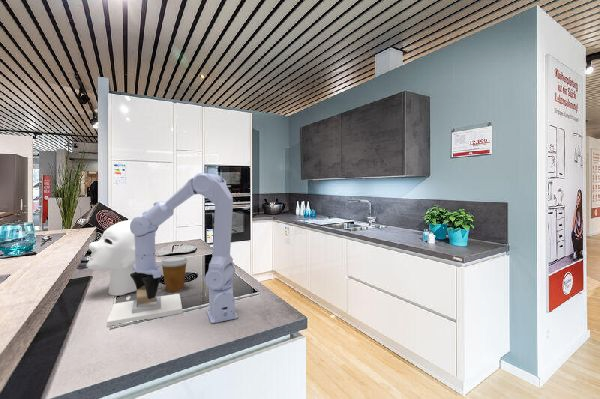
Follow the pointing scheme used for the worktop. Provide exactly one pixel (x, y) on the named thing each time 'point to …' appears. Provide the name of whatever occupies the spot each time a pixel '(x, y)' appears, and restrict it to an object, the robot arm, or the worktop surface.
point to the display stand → (145, 309)
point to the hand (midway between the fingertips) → (146, 295)
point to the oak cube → (143, 296)
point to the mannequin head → (115, 257)
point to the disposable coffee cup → (174, 272)
